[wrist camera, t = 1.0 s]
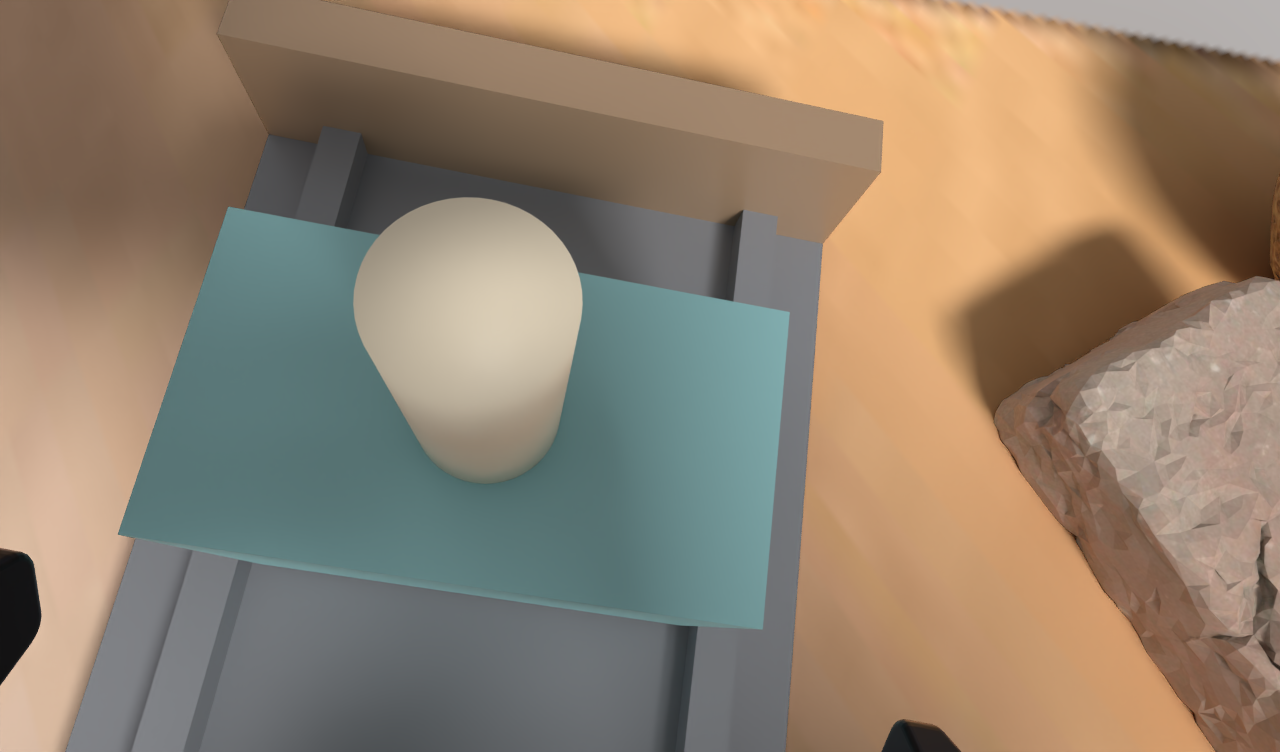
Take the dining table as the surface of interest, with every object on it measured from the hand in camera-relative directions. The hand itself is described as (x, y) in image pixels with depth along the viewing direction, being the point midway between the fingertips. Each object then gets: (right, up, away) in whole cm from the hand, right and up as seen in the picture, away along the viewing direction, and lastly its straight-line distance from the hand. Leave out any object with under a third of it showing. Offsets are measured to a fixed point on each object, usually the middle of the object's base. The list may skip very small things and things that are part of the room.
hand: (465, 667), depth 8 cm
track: (-2, +1, +13) cm, 13 cm away
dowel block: (-2, 0, +12) cm, 12 cm away
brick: (+20, -3, +16) cm, 25 cm away
